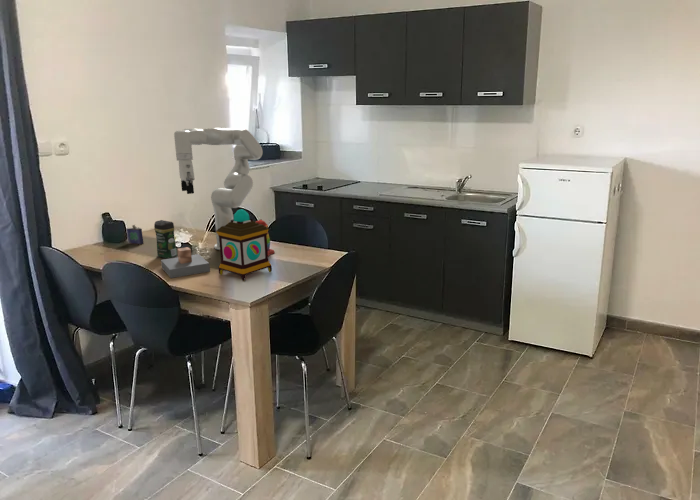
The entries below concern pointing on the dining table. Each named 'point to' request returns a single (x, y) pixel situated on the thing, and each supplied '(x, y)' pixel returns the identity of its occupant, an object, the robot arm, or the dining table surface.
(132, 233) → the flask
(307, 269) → the dining table surface
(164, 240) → the coffee jar
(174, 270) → the gray square slab
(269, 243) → the stacking bear
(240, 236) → the decorative lantern
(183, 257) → the terracotta block
